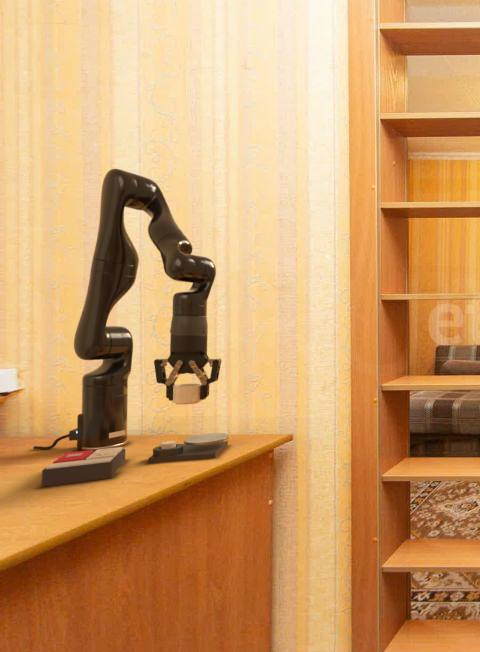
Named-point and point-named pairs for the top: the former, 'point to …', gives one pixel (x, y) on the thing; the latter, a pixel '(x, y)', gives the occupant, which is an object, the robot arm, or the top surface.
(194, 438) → the pan
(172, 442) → the button
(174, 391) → the bowl
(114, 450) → the calculator
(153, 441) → the top surface
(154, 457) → the grey knob plate
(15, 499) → the top surface
